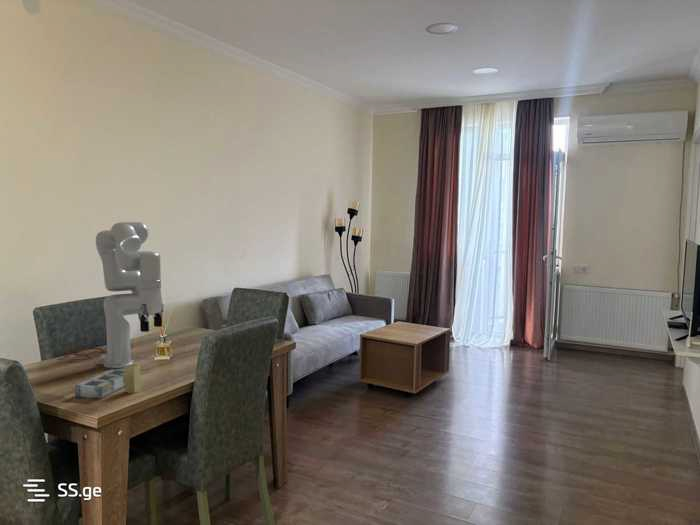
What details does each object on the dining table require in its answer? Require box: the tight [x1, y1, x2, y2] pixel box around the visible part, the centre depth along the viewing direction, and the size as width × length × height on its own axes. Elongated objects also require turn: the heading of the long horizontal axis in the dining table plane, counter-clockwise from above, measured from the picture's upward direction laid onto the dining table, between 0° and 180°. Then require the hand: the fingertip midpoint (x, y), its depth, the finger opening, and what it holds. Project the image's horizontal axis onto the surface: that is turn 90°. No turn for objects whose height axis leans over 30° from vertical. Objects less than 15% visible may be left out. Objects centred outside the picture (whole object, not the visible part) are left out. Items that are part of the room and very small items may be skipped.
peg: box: [123, 363, 142, 394], centre depth 199 cm, size 4×4×10 cm
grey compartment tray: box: [74, 368, 125, 400], centre depth 201 cm, size 10×22×4 cm, turn 169°
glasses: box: [64, 343, 106, 359], centre depth 250 cm, size 13×13×5 cm
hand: (151, 328), depth 203 cm, fingers open, 9 cm apart
